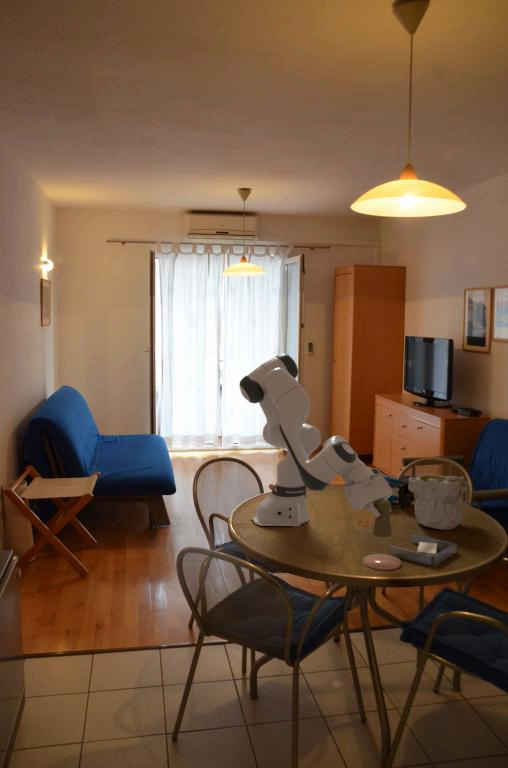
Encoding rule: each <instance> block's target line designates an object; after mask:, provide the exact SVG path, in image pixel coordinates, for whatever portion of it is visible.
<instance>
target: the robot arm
mask: <svg viewBox="0 0 508 768" xmlns="http://www.w3.org/2000/svg"><path fill="white" fill-rule="evenodd" d="M298 375H299V368H298V365H297V362H296V361H295V360H294V359H293V358H292V357H291V356H290V355H289V354H286V353H282V354H281V353H280V354H277V355H275V357H274V358H271V359H269V360H267V361H265V362H263V363H262V364H260V366H258V367H256V368H255V369H254V370H253V371H251V372H249V374H247V375H245V376H243V378H242V379H241V380H240V381H239V390H240V393H241V395H242V397H243V398H244V399H245V400H246V401H248V402H249V403H250V404H258V403H259V406H260V408H261V410H262V412H263V415H264V417H265V419H266V423H265V425H264V426H263V429H262V437H263V440H264V442H265V443H266V444H268V445H271V446H273V447H275V448H280V449H285V450H286V451H287V452H286V456H285V458H283V459H281V460H280V461H279V462H278V463H277V466H276V483H275V484H273V483H269V484H268V488H269V490H271V494H269V495H268V496H267V497H266V498H264V499H263V500H262V501H261V502H259V503H258V506H257V511H256V514H257V516H256V517H254V518H253V520H254V522H256V523H257V524H259V525H262V526H293V527H300V526H299V525H301V524H302V523H303V524H305V523H304V522H306V523H307V522H309V520H310V517H309V514H308V510H307V509H308V508H307V503H306V502H307V501H306V498H307V489H309V490H311V491H323V490H325V489H326V488H327V487H328V486H329V485H330V484H331V482H333V481H334V480H335V479H336V478H337V477H339V476H341V479H342V481H343V482H344V484H343V486H342V487H343V491H344V494H345V496H346V499H347V500H348V503H349V504H350V505H351V507H352V508H353V510H355V511H359V510H362V509H364V508H366V510H367V511H368V512H370V513H371V514H373V516H374V518H375V517H376V518H377V517H379V516H380V515H381V512H380V511H379V510H377V509H376V508H375V505H373V504H375V503H376V501H378V500H387V499H388V498H389V497H390V496H391V495H394V491H393V488H392V489H391V487H390V486H389V484H388V483H387V482H386V480H385V479H384V478H383V477H382V476H380V474H381V473H382V472H381V471H380V470H379V469H378V468H373V467H370V466H367V465H366V464H365V463H364V462H363V461H362V460H360V458H359V457H358V454H357V452H356V451H355V449H354V448H353V447H352V445H350V443H349V442H348V441H347V440H346V439H345V438H343V436H341V435H333V436H331V437H330V438H327V439H326V440H325V441H324V443H323V445H322V449H321V450H320V451H319V452H318V453H317V454H316V455H315V456H314V457H312V458H310V456H311V454H312V453H313V452H314V451H316V450H317V449H318V448H319V446H320V444H321V442H322V436H321V432H320V430H319V428H318V427H316V426H314V425H311V424H309V423H306V420H307V418H308V417H309V416H308V415H309V414H310V410H311V399H310V397H309V395H308V393H307V392H306V391H305V389H304V388H303V386H302V385H301V384H300V382H299V381H298V380H297V379H296V378H297V377H298ZM387 501H388V500H387ZM390 512H392V508H391V510H390V511H389V513H390ZM303 524H302V525H303ZM302 525H301V526H302Z"/></svg>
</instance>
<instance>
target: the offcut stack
mask: <svg viewBox="0 0 508 768" xmlns="http://www.w3.org/2000/svg"><path fill="white" fill-rule="evenodd" d="M416 552H418V553H422V554H426V555H430V556H434V555H435V554H437V553H438V549H437V544H436V543H427V542H419V544H418V547H417V551H416Z"/></svg>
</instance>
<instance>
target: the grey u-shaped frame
mask: <svg viewBox="0 0 508 768" xmlns="http://www.w3.org/2000/svg"><path fill="white" fill-rule="evenodd" d="M411 537H412V539H411V543H412V544H416V545H419V542H427V543H436V544H437V550H440V551H439V552H437V554H435V555H434V556H430V555H426V554H422V553H418V552H417V551H414V550H410V549H406V548H403V547H400V546H399V547H398V546H395V545H389V549H388V551H389V552H388V553H389V554H388V555H391V556H394V557H397V558H398V559H403V560H407V561H411V562H415V563H419V564H423V565H426V566H428V567H429V566H430V567H433V568H435V567H436V566H438V565H439V564H441V563H442V562H443V561H446V560H447V559H448V557H449V558H450V557H452V556H454V555H455V554H457V553H456V552H457V550H458V543H454V542H450V541H447V540H446V541H445V540H441V539H437V538H433V537H430V536H425V535H420V534H416V533H413V534H412V536H411ZM453 554H454V555H453ZM445 559H446V560H445ZM440 562H441V563H440Z"/></svg>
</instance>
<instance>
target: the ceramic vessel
mask: <svg viewBox="0 0 508 768" xmlns="http://www.w3.org/2000/svg"><path fill="white" fill-rule="evenodd" d="M408 482H409V486H408V489H409V490H410V491H411V492H413V493H414V495H415V496H416V498H415V502H414V515H415V518H416V520H417V521H418V522H419V524H420V525H422V526H424V527H427V528H432V529H437V530H441V531H449V529H450V530H453V529H455V528H457V526H458V525H459V524H460V523H461V521H462V519H463V505H464V504H466V503H468V502H469V500H468V490H469V486H468V485H469V484H468V482H467V481H466V480H465V477H464V475H462V476H456V475H449V476H448V475H447V476H446V475H443V474H442V475H441V474H434V473H430V474H429V473H428V474H427V473H426V474H421V475H417V476H416V477H415V476H410V477H409V478H408Z"/></svg>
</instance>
